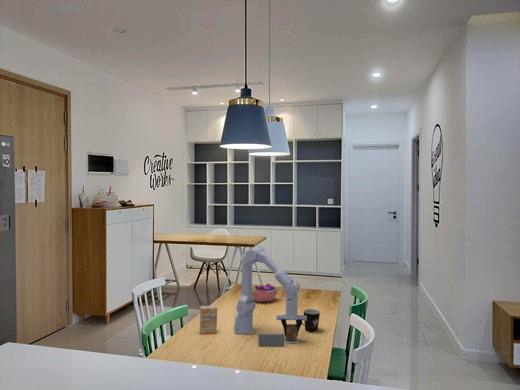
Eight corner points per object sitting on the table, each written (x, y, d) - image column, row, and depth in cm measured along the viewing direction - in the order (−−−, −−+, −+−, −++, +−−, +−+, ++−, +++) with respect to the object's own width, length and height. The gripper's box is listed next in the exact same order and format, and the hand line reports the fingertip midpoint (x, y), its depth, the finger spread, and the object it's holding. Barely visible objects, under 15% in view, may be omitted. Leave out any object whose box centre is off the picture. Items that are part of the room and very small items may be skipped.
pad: (284, 343, 187) (284, 342, 187) (283, 338, 194) (283, 337, 194) (299, 344, 188) (299, 342, 188) (297, 338, 195) (297, 337, 195)
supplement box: (200, 334, 197) (201, 308, 197) (199, 331, 202) (199, 305, 202) (216, 333, 199) (217, 307, 199) (215, 330, 204) (216, 305, 204)
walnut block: (286, 340, 188) (286, 327, 188) (285, 336, 193) (285, 323, 193) (296, 340, 188) (297, 327, 188) (295, 336, 193) (295, 323, 193)
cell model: (244, 299, 264) (244, 282, 264) (271, 296, 272) (271, 280, 272) (254, 306, 249) (255, 288, 249) (282, 303, 257) (283, 285, 257)
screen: (258, 346, 184) (258, 334, 184) (258, 345, 185) (258, 333, 185) (284, 346, 184) (284, 334, 184) (283, 345, 185) (284, 333, 185)
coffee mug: (317, 327, 211) (318, 309, 211) (321, 333, 202) (321, 314, 202) (296, 327, 210) (296, 308, 210) (298, 333, 202) (298, 313, 202)
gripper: (277, 309, 187) (276, 337, 187) (307, 309, 187) (307, 338, 187) (276, 305, 194) (275, 332, 194) (305, 305, 194) (304, 332, 194)
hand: (291, 335), depth 191 cm, fingers closed on walnut block, 5 cm apart
